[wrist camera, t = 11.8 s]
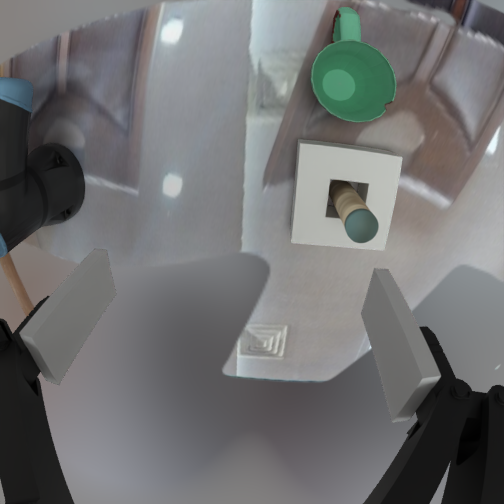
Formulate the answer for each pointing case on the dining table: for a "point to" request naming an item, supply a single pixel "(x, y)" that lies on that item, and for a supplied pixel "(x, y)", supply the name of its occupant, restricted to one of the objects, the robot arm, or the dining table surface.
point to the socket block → (348, 169)
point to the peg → (353, 212)
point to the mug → (352, 73)
